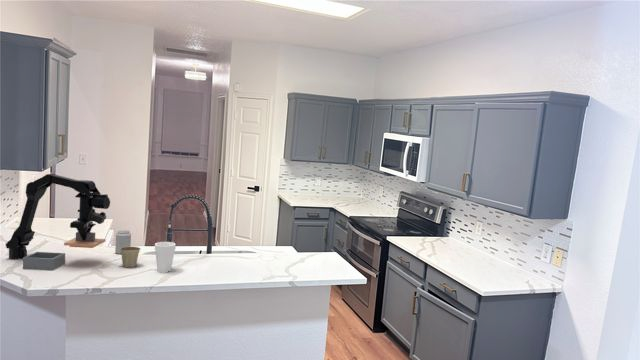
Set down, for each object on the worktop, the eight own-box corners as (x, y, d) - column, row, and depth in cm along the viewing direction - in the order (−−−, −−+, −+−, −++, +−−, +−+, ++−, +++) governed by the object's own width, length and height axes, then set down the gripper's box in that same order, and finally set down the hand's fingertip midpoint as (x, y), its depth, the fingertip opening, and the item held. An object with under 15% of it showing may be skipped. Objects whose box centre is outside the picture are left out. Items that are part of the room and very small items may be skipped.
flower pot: (143, 266, 221) (144, 249, 220) (124, 269, 214) (124, 251, 213) (134, 262, 227) (135, 245, 227) (115, 265, 220) (116, 247, 220)
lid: (63, 247, 209) (64, 234, 209) (76, 241, 221) (76, 229, 221) (94, 249, 210) (95, 235, 210) (105, 243, 222) (105, 231, 222)
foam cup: (178, 269, 220) (179, 243, 219) (166, 274, 211) (167, 247, 210) (162, 266, 223) (163, 241, 222) (149, 271, 214) (150, 244, 213)
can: (124, 255, 239) (125, 233, 238) (112, 253, 241) (112, 231, 240) (133, 252, 247) (134, 230, 246) (121, 250, 248) (121, 229, 247)
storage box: (22, 270, 203) (23, 257, 202) (36, 264, 213) (36, 251, 213) (52, 272, 203) (53, 259, 203) (64, 265, 214) (65, 253, 214)
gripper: (95, 211, 205) (94, 244, 207) (111, 205, 224) (110, 236, 225) (70, 209, 205) (69, 243, 206) (88, 204, 223) (87, 235, 224)
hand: (85, 239), depth 215 cm, fingers closed on lid, 2 cm apart
